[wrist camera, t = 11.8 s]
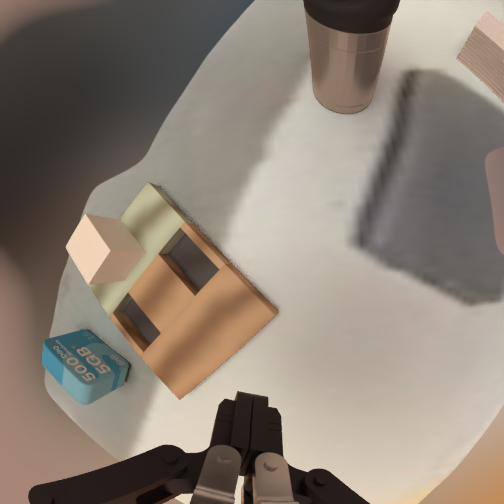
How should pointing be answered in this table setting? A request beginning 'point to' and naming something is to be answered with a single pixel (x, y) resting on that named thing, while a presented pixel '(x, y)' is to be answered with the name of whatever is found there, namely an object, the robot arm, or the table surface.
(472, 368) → the table surface
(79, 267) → the block
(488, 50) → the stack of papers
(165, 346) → the board
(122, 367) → the data package
